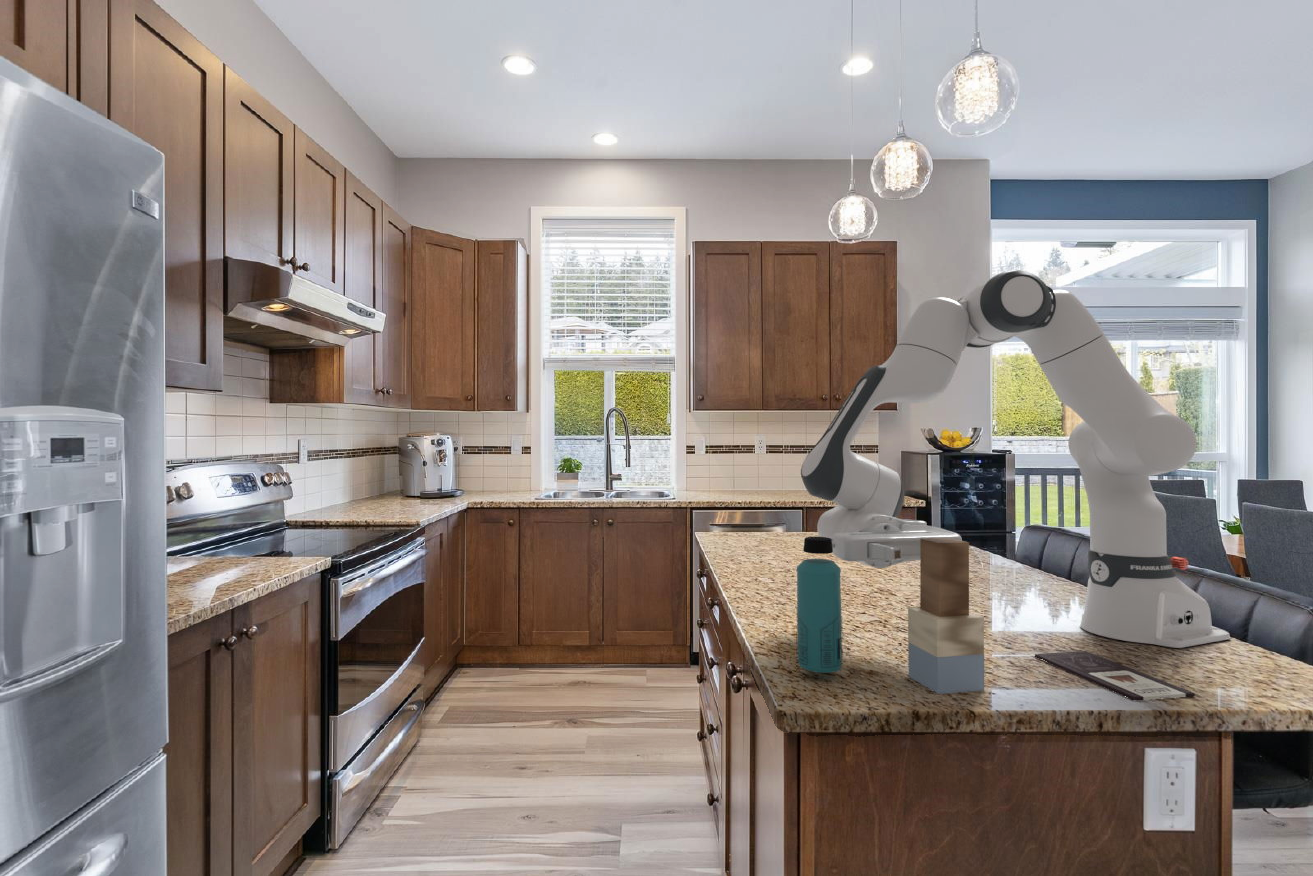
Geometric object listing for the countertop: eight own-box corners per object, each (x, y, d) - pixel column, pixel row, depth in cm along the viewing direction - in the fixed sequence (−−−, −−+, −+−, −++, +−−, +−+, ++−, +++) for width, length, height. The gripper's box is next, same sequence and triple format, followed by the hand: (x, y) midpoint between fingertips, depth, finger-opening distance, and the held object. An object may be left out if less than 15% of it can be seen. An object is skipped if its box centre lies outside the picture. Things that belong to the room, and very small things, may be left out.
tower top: (952, 639, 97) (952, 605, 97) (983, 654, 90) (983, 617, 90) (908, 642, 95) (908, 607, 95) (936, 657, 88) (936, 619, 89)
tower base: (952, 673, 97) (952, 639, 97) (984, 690, 90) (984, 654, 90) (908, 676, 95) (908, 641, 95) (937, 694, 88) (937, 657, 89)
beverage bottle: (844, 685, 92) (844, 540, 92) (795, 682, 93) (795, 539, 93) (841, 669, 98) (840, 534, 98) (795, 666, 99) (795, 533, 100)
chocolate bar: (1085, 651, 105) (1194, 693, 87) (1085, 657, 105) (1194, 700, 87) (1034, 654, 104) (1134, 697, 86) (1034, 660, 104) (1134, 704, 86)
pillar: (948, 607, 95) (948, 537, 95) (969, 615, 91) (968, 542, 91) (920, 608, 94) (920, 538, 95) (939, 616, 90) (939, 543, 90)
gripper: (818, 522, 109) (860, 533, 95) (930, 520, 113) (985, 530, 99) (818, 561, 109) (860, 577, 95) (930, 557, 113) (985, 572, 99)
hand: (925, 553), depth 97 cm, fingers open, 8 cm apart
